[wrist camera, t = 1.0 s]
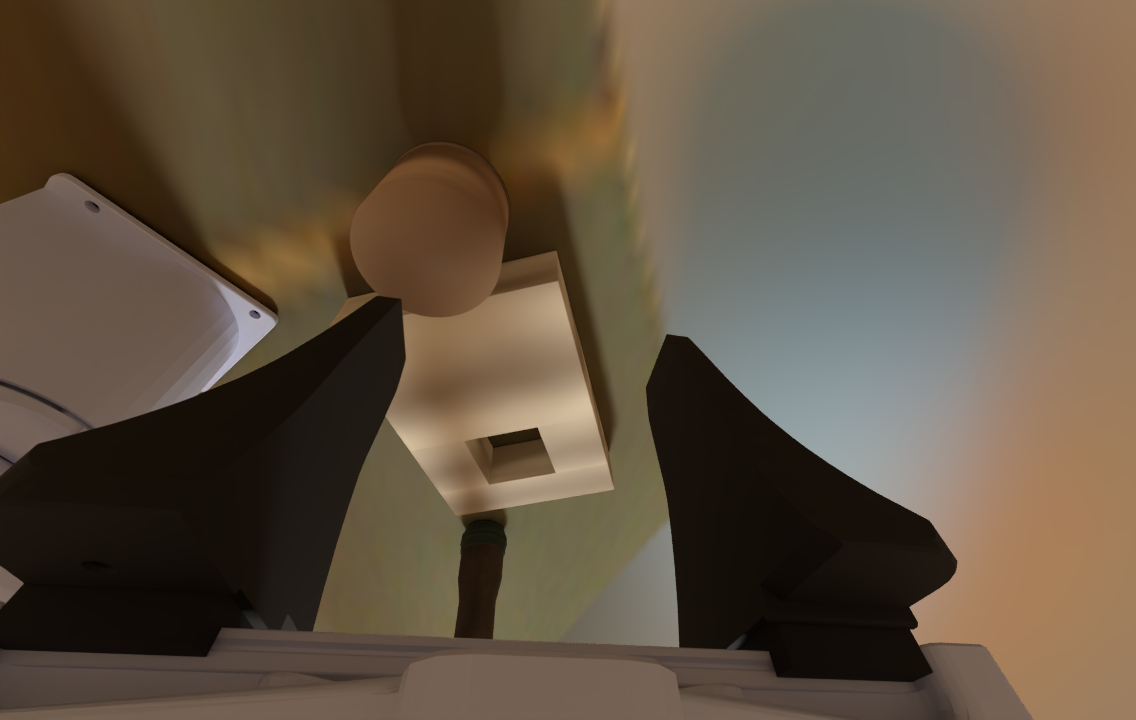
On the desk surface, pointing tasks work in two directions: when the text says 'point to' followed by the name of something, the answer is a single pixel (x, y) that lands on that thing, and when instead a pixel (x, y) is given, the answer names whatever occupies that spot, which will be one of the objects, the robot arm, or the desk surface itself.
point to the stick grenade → (479, 579)
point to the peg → (433, 230)
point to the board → (501, 395)
